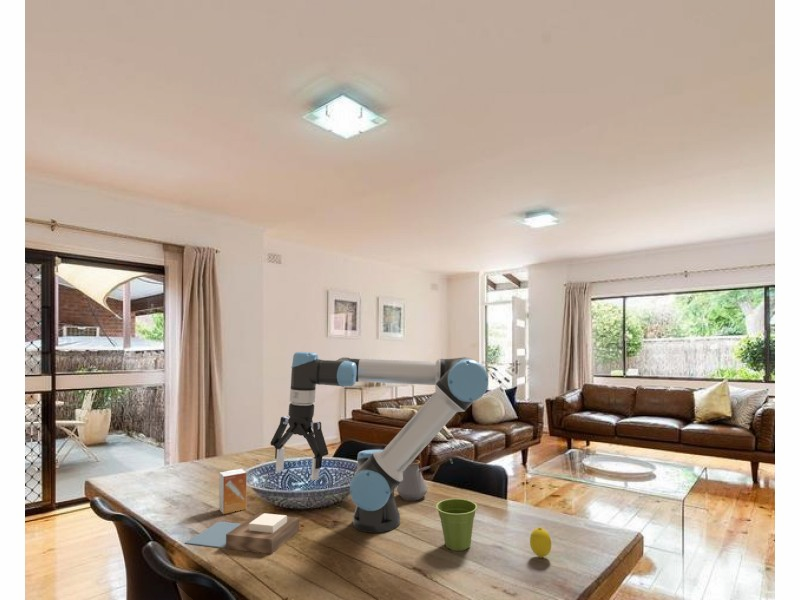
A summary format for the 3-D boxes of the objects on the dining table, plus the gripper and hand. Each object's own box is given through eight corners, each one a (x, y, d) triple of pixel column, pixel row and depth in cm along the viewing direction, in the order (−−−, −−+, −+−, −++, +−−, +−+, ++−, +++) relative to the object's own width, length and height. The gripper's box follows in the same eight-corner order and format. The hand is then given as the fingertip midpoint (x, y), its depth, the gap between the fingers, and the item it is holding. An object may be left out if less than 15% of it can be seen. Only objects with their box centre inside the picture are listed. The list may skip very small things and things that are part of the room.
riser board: (299, 530, 150) (298, 517, 150) (271, 554, 134) (271, 539, 134) (257, 526, 154) (257, 513, 154) (226, 548, 138) (226, 534, 139)
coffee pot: (393, 501, 174) (392, 459, 175) (401, 490, 185) (401, 451, 186) (450, 505, 168) (449, 462, 169) (456, 494, 179) (455, 454, 180)
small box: (223, 515, 164) (223, 476, 165) (218, 509, 169) (218, 472, 170) (246, 509, 169) (246, 472, 169) (242, 504, 174) (241, 468, 175)
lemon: (535, 551, 132) (534, 521, 133) (555, 556, 129) (553, 526, 129) (527, 558, 128) (526, 528, 128) (547, 565, 124) (545, 533, 125)
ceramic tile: (286, 522, 146) (286, 515, 147) (272, 532, 139) (272, 525, 139) (263, 519, 149) (263, 513, 149) (249, 530, 141) (249, 523, 141)
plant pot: (430, 541, 140) (429, 502, 141) (466, 534, 144) (464, 496, 145) (448, 559, 129) (447, 516, 130) (486, 550, 133) (485, 509, 134)
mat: (255, 526, 154) (255, 525, 154) (223, 548, 139) (223, 547, 139) (219, 522, 158) (219, 521, 158) (184, 543, 142) (184, 542, 142)
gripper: (262, 399, 147) (256, 469, 145) (328, 410, 135) (322, 486, 134) (278, 397, 153) (273, 464, 152) (343, 407, 142) (338, 479, 140)
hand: (296, 474), depth 143 cm, fingers open, 13 cm apart
